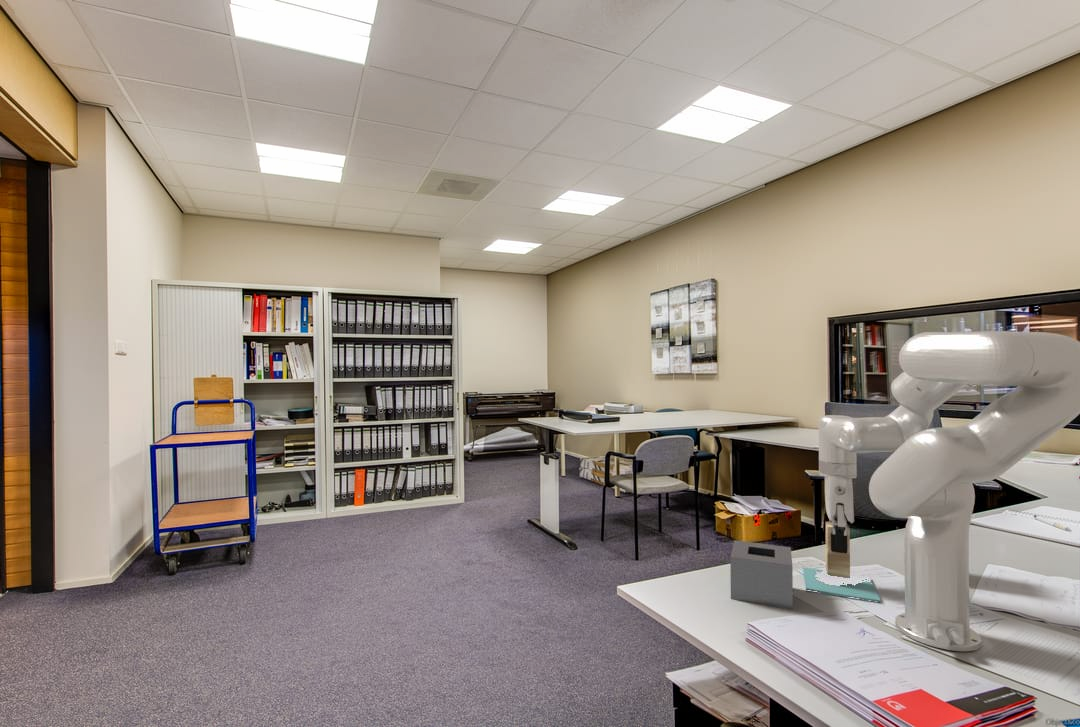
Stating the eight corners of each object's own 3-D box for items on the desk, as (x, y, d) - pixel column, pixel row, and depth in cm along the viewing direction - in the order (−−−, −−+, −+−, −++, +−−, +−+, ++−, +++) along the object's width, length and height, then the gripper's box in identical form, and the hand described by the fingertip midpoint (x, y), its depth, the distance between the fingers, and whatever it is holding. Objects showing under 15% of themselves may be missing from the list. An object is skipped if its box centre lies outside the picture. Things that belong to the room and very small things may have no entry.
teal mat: (880, 603, 108) (880, 600, 108) (806, 591, 114) (806, 588, 114) (869, 579, 120) (869, 576, 120) (802, 569, 126) (802, 567, 126)
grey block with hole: (792, 609, 105) (792, 565, 105) (730, 598, 110) (730, 556, 110) (790, 587, 116) (790, 547, 116) (734, 578, 121) (734, 540, 121)
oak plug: (850, 578, 114) (849, 529, 115) (827, 575, 116) (827, 526, 116) (847, 571, 118) (847, 523, 119) (825, 568, 120) (825, 521, 120)
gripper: (862, 477, 108) (862, 563, 108) (851, 464, 124) (851, 540, 123) (822, 474, 112) (822, 558, 111) (816, 462, 127) (816, 535, 127)
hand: (837, 547), depth 117 cm, fingers closed on oak plug, 4 cm apart
